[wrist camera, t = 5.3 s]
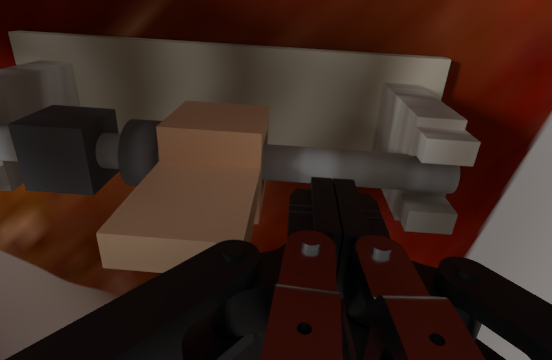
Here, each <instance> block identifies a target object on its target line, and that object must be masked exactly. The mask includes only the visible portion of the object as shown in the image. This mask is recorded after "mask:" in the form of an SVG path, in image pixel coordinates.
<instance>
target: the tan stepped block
mask: <svg viewBox="0 0 552 360" xmlns="http://www.w3.org/2000/svg"><path fill="white" fill-rule="evenodd" d="M269 114H270V106H260V105H245V104H230V103H215V102H200V101H185V102H184V103H182V104H181V105H180V106H179V107H178V108H177V109H176V110H174V111H173V112H172V113H171V114H170V115H169V116H168V117H167V118H165V119H164V120H163V121H162V122H161V123H160V124H159V125H157V126H156V130H157V141H158V151H159V162H158V163H157V164H156V165H155V166H154V168H153V169H152V170H151V171H150V172H149V173H148V174H147V176H146V177H145V178H144V179H143V180H142V181H141V182H140V184H139V185H138V186H137V187H136V188H135V189H134V190H133V192H132V193H131V194H130V195H129V196H128V197H127V198H126V200H125V201H124V202H123V203H122V204H121V205H120V206H119V208H118V209H117V210H116V211H115V212H114V213H113V214H112V216H111V217H110V218H109V219H108V220H107V221H106V222H105V224H104V225H103V226H102V227H101V228H100V229H99V230H98V232H97V233H96V235H97V240H98V245H99V250H100V255H101V260H102V265H103V268H110V269H122V270H134V271H146V272H159V273H164V272H166V271H167V270H169V269H171V268H173V267H175V266H177V265H178V264H180V263H182V262H184V261H186V260H187V259H189V258H191V257H193V256H195V255H197V254H198V253H200V252H202V251H204V250H206V249H208V248H209V247H211V246H213V245H215V244H217V243H219V242H222V241H225V240H243V241H247V242H249V243H250V239H251V234H252V229H253V224H259V219H260V214H261V208H262V203H263V198H264V192H265V187H266V180H262V161H263V145H264V144H268V136H269Z"/></svg>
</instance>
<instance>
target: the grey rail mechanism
mask: <svg viewBox="0 0 552 360" xmlns="http://www.w3.org/2000/svg"><path fill="white" fill-rule="evenodd" d="M8 34H9V38H10V42H11V46H12V50H13V54H14V58H15V62H16V66H12V67H8V68H4V69H0V190H5V191H12V190H14V189H15V188H17V187H18V186H20V185H21V184H23V183H24V185H25V188H26V190H30V191H43V192H56V193H69V194H83V195H95V194H96V193H97V192H98V191H99V190H100V189H101V188H102V187H103V186H104V185H105V184H106V183H107V182H108V181H109V180H110V179H111V178H112V177H114V176H115V175H116V174H117V173H118V172H119V171H120V175H121V177H122V179H123V181H124V182H125V183H126V184H127V185H129V186H138V185H139V184H140V182H141V181H142V180H143V179H144V178H145V177H146V176H147V174H148V173H149V172H150V171H151V170H152V169H153V168H154V166H155V165H156V164H157V163H158V162H159V151H158V141H157V130H156V126H157V125H159V124H160V123H161V122H162V121H163V120H164V119H165V118H167V117H168V116H169V115H170V114H171V113H172V112H173V111H174V110H176V109H177V108H178V107H179V106H180V105H181V104H182V103H184V102H185V101H200V102H215V103H230V104H245V105H260V106H270V114H269V136H268V144H264V145H263V161H262V180H273V181H286V182H300V183H310V182H311V177H323V178H332V179H333V178H339V179H353V180H354V182H355V185H356V187H368V188H381V189H382V192H383V194H384V196H385V199H386V201H387V203H388V206H389V208H390V210H391V213H392V215H393V218H394V220H399V221H400V222H401V224H402V227H403V229H404V231H410V232H423V233H436V234H449V235H452V232H453V228H454V225H455V222H456V219H457V216H458V214H457V213H456V211H455V210H454V209H453V207H452V206H451V205H450V203H449V202H448V201H447V199H446V198H445V196H446V193H449V194H451V193H453V192H454V191H455V190H456V189H457V187H458V184H459V180H460V166H474V162H475V159H476V156H477V153H478V150H479V147H480V144H481V142H480V141H478V140H477V139H476V138H475V137H473V136H472V135H471V134H470V133H468V132H467V131H466V130H465V128H466V124H467V121H468V120H466V119H465V118H464V117H462V116H461V115H459V114H458V113H457V112H455V111H454V110H453V109H451V108H450V107H448V106H447V105H446V104H444V103H443V102H441V99H442V95H443V91H444V87H445V83H446V79H447V75H448V71H449V67H450V63H451V59H449V58H446V57H435V56H419V55H403V54H387V53H371V52H355V51H339V50H323V49H307V48H291V47H275V46H260V45H244V44H228V43H212V42H196V41H180V40H164V39H148V38H132V37H116V36H100V35H84V34H68V33H52V32H36V31H20V30H19V31H10V32H8Z"/></svg>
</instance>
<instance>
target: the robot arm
mask: <svg viewBox="0 0 552 360" xmlns="http://www.w3.org/2000/svg"><path fill="white" fill-rule="evenodd" d="M341 299H344V302H345V307H344V312H343V324H344V329H345V333H346V337H347V342H348V346H349V351H350V355H351V359H352V360H506V359H504V358H503V357H502V356H500V355H499V354H497V353H496V352H495V351H493V350H492V349H491V348H489V347H488V346H487V345H485V344H484V343H482V342H481V341H480V340H478V339H477V338H476V337H477V334H478V332H479V330H480V327H481V325H482V324H483V325H485V326H486V327H488V328H489V329H491V330H492V331H493V332H495V333H496V334H498V335H499V336H501V337H502V338H503V339H505V340H507V341H508V342H509V343H511V344H512V345H514V346H515V347H517V348H518V349H520V350H521V351H522V352H524V353H525V354H526V355H527V356H528V357H530V359H531V360H552V304H550V303H548V302H546V301H545V300H543V299H541V298H539V297H537V296H536V295H534V294H532V293H530V292H529V291H527V290H525V289H524V288H522V287H520V286H518V285H517V284H515V283H513V282H511V281H510V280H508V279H506V278H504V277H503V276H501V275H499V274H497V273H496V272H494V271H492V270H490V269H489V268H487V267H485V266H483V265H481V264H480V263H478V262H475V261H473V260H470V259H467V258H463V257H447V258H445V259H443V260H441V262H440V263H439V266H438V268H434V267H431V266H427V265H423V264H420V263H417V262H414V261H412V260H410V258H409V256H408V254H407V252H406V250H405V249H404V248H403V247H402V246H401V245H400V244H399V243H398V242H396V241H394V240H392V239H391V238H390V236H389V233H388V230H387V228H386V225H385V222H384V220H383V219H382V215H381V212H380V209H379V207H378V204H377V202H376V201H375V200H374V199H373V198H372V197H371V196H370V195H369V194H362V193H358V192H357V188H356V185H355V182H354V180H353V179H339V178H333V179H332V178H323V177H311V182H310V190H304V189H296V190H295V191H294V192H293V193H292V194H291V195H290V203H289V216H288V229H287V240H286V243H285V244H284V245H283V246H282V247H280V248H278V249H276V250H273V251H270V252H264V253H259V250H258V249H257V248H256V247H255V246H254V245H253V244H251V243H249V242H247V241H243V240H225V241H222V242H219V243H217V244H215V245H213V246H211V247H209V248H208V249H206V250H204V251H202V252H200V253H198V254H197V255H195V256H193V257H191V258H189V259H187V260H186V261H184V262H182V263H180V264H178V265H177V266H175V267H173V268H171V269H169V270H167V271H166V272H164V273H162V274H160V275H158V276H156V277H155V278H153V279H151V280H149V281H147V282H146V283H144V284H142V285H140V286H138V287H136V288H135V289H133V290H131V291H129V292H127V293H125V294H124V295H122V296H120V297H118V298H116V299H115V300H113V301H111V302H109V303H108V304H105V305H104V306H102V307H100V308H98V309H96V310H94V311H93V312H91V313H89V314H87V315H85V316H84V317H82V318H80V319H78V320H76V321H74V322H73V323H71V324H69V325H67V326H65V327H64V328H62V329H60V330H58V331H56V332H54V333H53V334H51V335H49V336H47V337H45V338H44V339H42V340H40V341H38V342H36V343H34V344H33V345H31V346H29V347H27V348H25V349H23V350H22V351H20V352H18V353H16V354H14V355H12V356H11V357H9V358H7V359H5V360H232V359H234V358H235V357H236V356H237V355H238V354H239V353H241V352H242V351H243V350H244V349H245V348H246V347H247V346H249V345H250V344H251V343H252V342H253V341H254V339H255V337H256V334H257V333H260V332H264V331H266V336H265V341H264V346H263V351H262V357H261V360H343V356H342V326H341Z"/></svg>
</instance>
